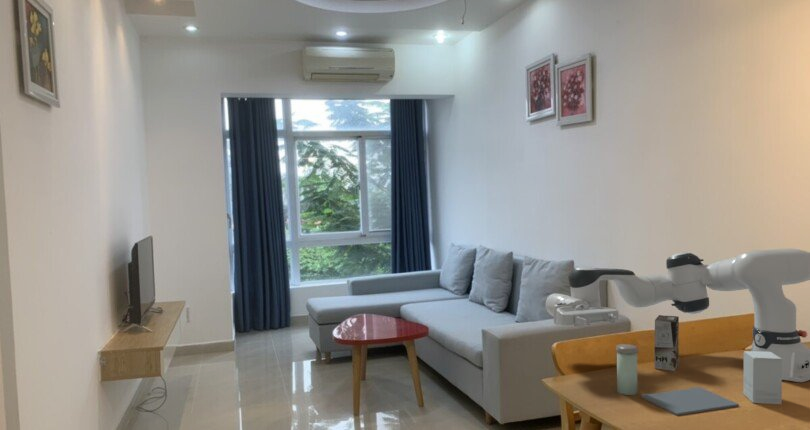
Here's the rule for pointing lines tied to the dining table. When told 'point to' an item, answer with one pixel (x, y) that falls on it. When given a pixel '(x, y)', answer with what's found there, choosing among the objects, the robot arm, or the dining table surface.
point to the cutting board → (689, 401)
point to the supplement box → (762, 377)
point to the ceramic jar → (627, 369)
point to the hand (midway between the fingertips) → (601, 321)
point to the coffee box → (666, 342)
